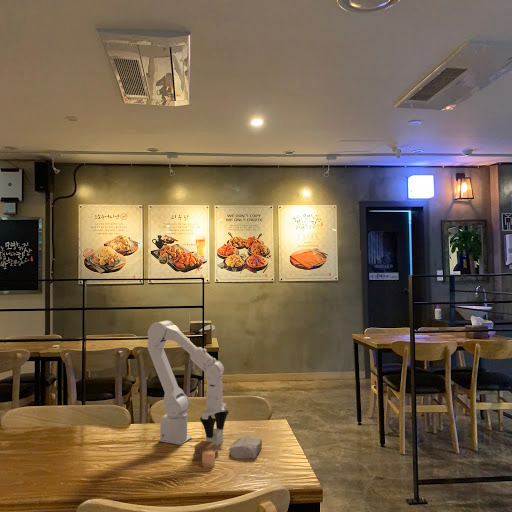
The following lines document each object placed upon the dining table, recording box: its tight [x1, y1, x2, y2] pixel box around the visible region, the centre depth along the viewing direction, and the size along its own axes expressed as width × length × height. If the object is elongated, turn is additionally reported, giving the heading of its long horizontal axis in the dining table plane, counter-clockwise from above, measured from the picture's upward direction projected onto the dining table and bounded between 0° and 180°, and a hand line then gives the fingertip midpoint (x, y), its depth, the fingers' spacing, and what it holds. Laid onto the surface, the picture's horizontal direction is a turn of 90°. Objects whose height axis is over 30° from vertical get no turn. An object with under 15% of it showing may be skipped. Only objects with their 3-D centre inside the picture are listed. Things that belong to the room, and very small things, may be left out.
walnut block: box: [194, 440, 217, 455], centre depth 148 cm, size 5×5×2 cm
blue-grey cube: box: [205, 427, 224, 447], centre depth 162 cm, size 4×4×4 cm
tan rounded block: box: [201, 450, 216, 469], centre depth 142 cm, size 4×4×4 cm
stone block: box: [229, 436, 263, 460], centre depth 153 cm, size 12×5×10 cm
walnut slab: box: [192, 449, 219, 462], centre depth 148 cm, size 6×6×2 cm
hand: (214, 434), depth 162 cm, fingers open, 7 cm apart
